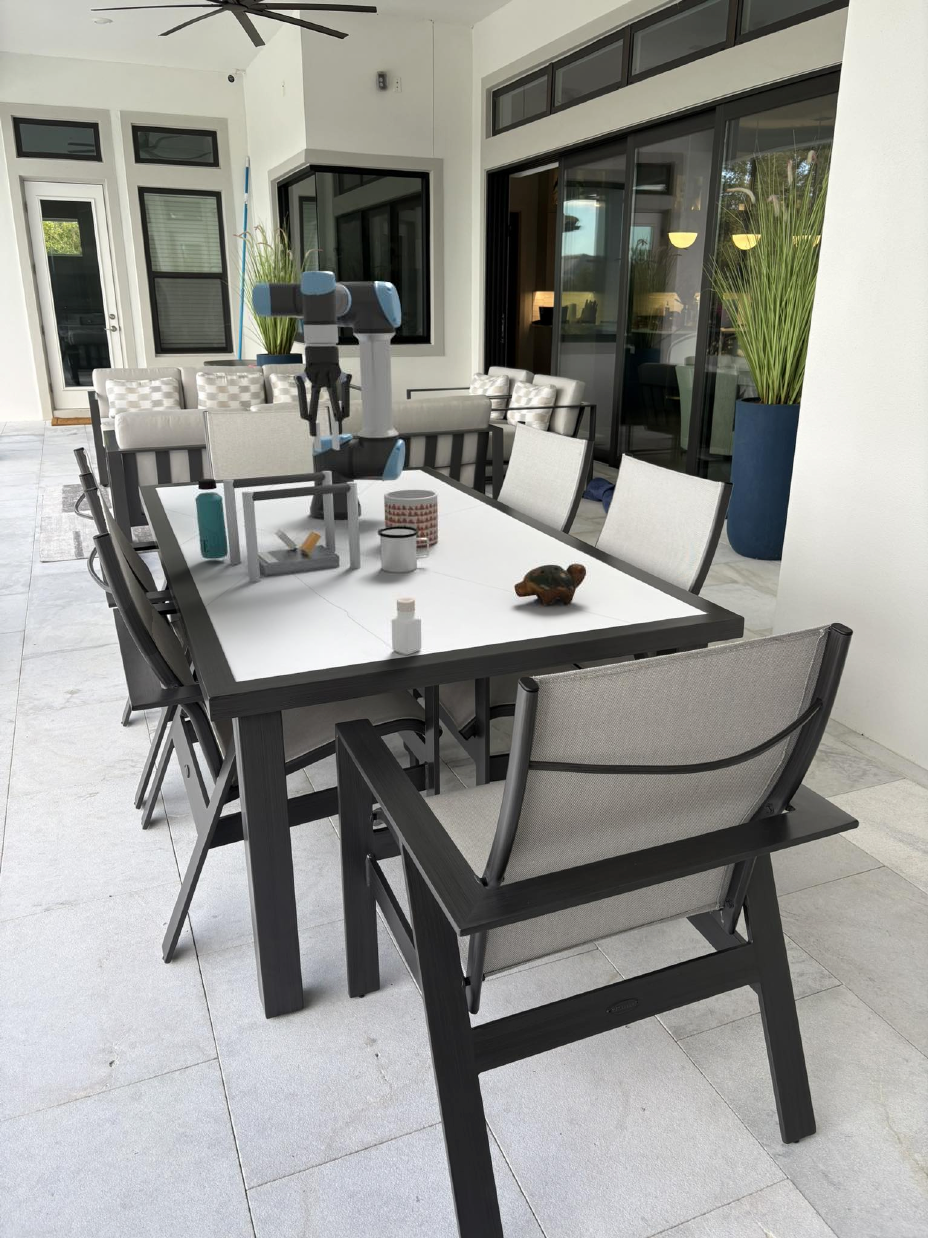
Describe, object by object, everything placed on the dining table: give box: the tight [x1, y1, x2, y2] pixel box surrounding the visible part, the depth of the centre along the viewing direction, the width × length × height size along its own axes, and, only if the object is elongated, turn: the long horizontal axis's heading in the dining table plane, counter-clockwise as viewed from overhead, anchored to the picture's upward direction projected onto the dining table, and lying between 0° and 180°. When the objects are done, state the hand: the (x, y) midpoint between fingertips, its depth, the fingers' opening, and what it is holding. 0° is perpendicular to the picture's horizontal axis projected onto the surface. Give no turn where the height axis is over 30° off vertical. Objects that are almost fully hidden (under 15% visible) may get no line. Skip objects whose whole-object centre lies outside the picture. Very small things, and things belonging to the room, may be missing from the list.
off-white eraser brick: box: [274, 528, 298, 550], centre depth 216 cm, size 2×3×6 cm
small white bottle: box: [391, 596, 422, 656], centre depth 157 cm, size 4×4×10 cm
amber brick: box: [299, 530, 322, 555], centre depth 213 cm, size 2×3×6 cm
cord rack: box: [222, 471, 361, 583], centre depth 209 cm, size 26×19×20 cm
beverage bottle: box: [194, 478, 229, 560], centre depth 213 cm, size 6×7×20 cm
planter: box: [383, 488, 439, 549], centre depth 232 cm, size 14×14×13 cm
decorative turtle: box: [514, 563, 587, 607], centre depth 184 cm, size 10×15×8 cm, turn 107°
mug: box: [377, 526, 430, 574], centre depth 209 cm, size 12×10×9 cm
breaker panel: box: [258, 544, 340, 577], centre depth 212 cm, size 18×12×3 cm, turn 118°
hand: (327, 449), depth 208 cm, fingers open, 4 cm apart
